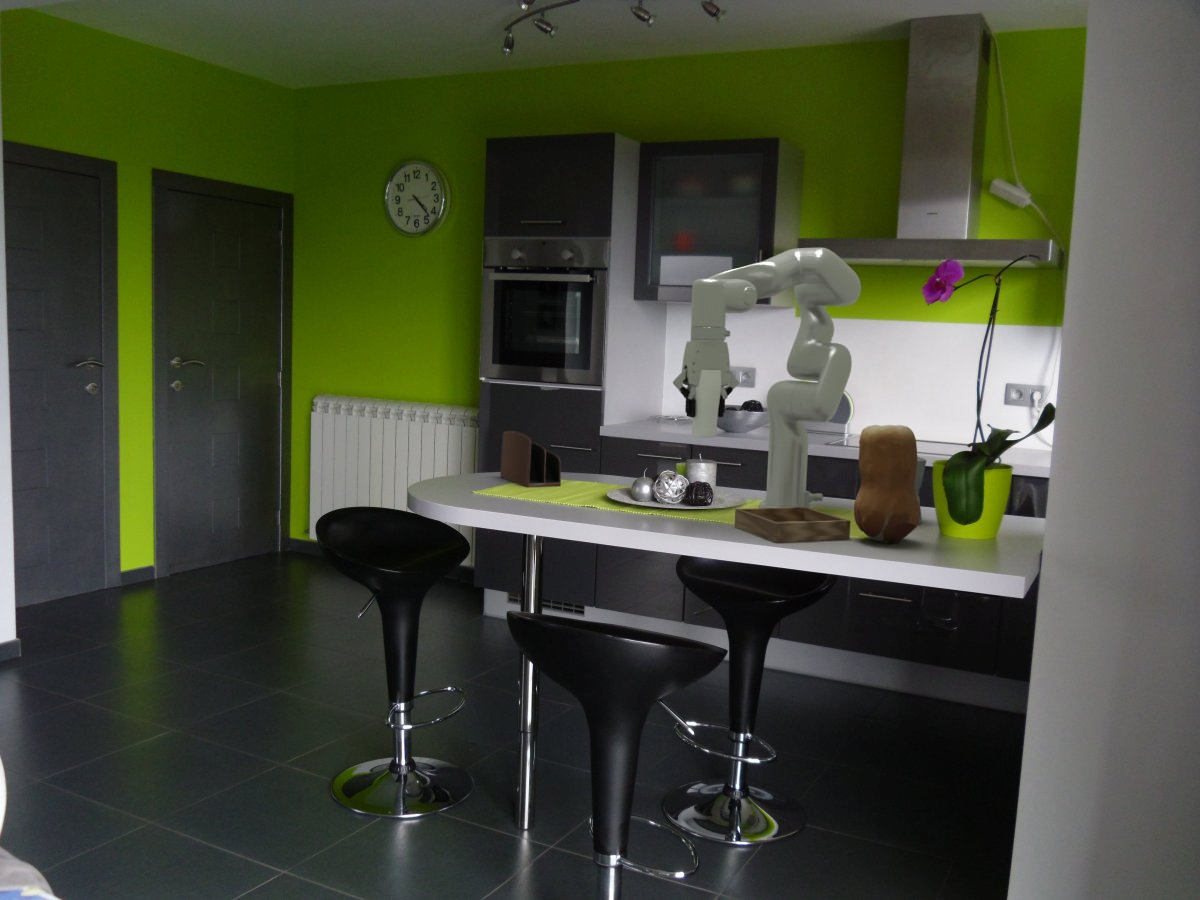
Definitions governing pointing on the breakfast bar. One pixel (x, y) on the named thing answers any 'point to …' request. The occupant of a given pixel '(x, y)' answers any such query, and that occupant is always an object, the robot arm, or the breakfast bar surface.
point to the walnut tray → (792, 524)
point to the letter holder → (528, 462)
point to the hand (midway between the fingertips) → (704, 415)
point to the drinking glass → (707, 404)
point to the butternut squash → (887, 483)
